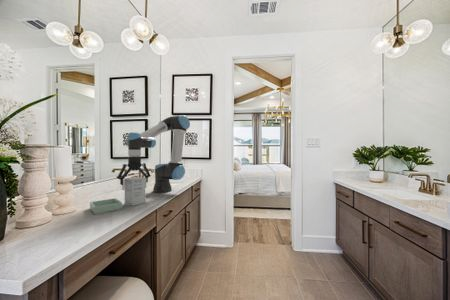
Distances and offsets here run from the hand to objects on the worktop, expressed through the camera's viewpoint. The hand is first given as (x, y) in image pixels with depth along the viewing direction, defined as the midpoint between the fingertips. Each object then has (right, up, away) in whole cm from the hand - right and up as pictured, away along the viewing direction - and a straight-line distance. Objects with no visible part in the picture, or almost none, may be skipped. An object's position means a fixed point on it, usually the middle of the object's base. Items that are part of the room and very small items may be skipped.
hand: (134, 188), depth 131 cm
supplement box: (0, -10, 0) cm, 10 cm away
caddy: (-12, -10, -12) cm, 19 cm away
